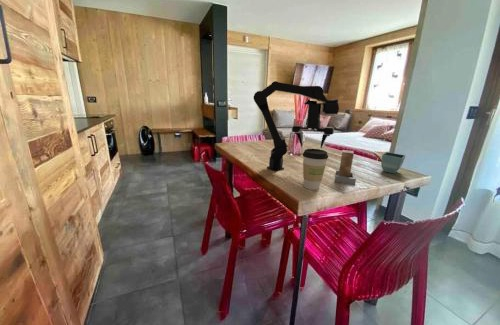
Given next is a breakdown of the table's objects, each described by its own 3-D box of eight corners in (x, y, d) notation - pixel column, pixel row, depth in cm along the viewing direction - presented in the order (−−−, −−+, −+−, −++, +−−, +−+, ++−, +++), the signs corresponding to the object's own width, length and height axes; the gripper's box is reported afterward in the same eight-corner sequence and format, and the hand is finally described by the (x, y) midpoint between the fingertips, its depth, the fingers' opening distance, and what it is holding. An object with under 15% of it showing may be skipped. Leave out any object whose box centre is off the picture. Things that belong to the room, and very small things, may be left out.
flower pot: (401, 171, 112) (405, 155, 109) (398, 175, 105) (402, 158, 103) (382, 167, 117) (386, 151, 115) (378, 171, 111) (381, 154, 109)
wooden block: (337, 180, 97) (342, 152, 94) (338, 176, 101) (342, 149, 98) (348, 181, 96) (353, 153, 92) (348, 178, 100) (353, 151, 96)
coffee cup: (320, 193, 83) (325, 155, 78) (295, 187, 88) (299, 151, 83) (326, 185, 91) (331, 150, 86) (303, 180, 96) (307, 147, 91)
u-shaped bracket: (334, 181, 96) (335, 176, 95) (335, 174, 104) (336, 169, 103) (355, 184, 93) (356, 179, 92) (354, 177, 101) (355, 172, 100)
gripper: (336, 113, 104) (333, 145, 109) (298, 112, 112) (296, 142, 116) (334, 115, 94) (330, 150, 99) (292, 114, 102) (290, 146, 107)
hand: (311, 147), depth 105 cm, fingers open, 9 cm apart
